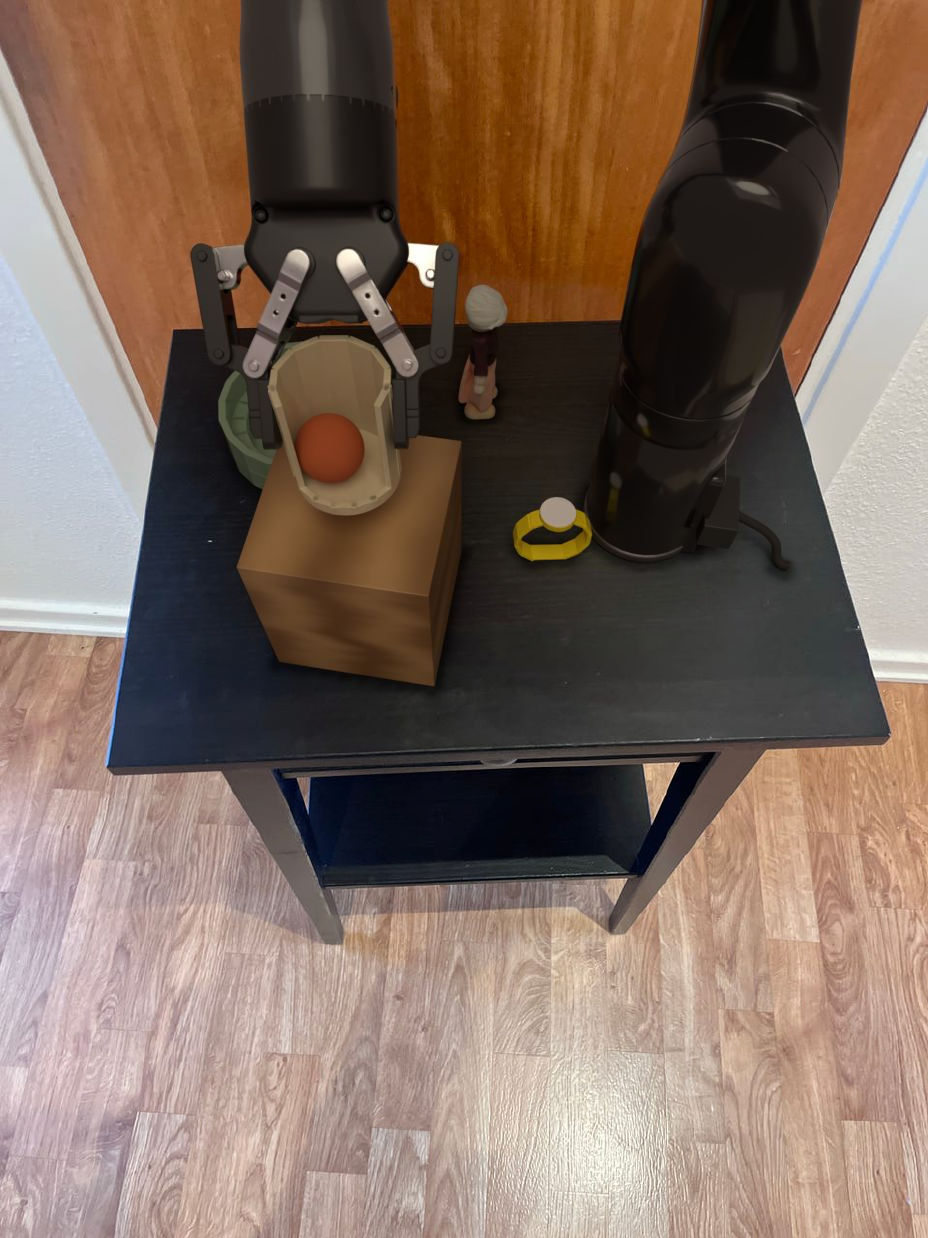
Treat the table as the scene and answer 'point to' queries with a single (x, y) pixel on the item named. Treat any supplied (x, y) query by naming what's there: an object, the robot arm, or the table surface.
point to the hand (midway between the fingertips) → (338, 447)
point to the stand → (360, 569)
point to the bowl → (243, 430)
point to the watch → (558, 519)
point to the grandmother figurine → (482, 351)
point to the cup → (347, 386)
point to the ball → (329, 448)
